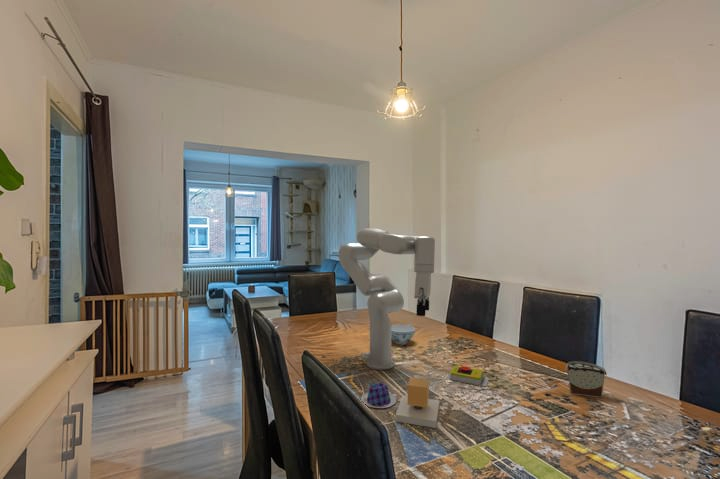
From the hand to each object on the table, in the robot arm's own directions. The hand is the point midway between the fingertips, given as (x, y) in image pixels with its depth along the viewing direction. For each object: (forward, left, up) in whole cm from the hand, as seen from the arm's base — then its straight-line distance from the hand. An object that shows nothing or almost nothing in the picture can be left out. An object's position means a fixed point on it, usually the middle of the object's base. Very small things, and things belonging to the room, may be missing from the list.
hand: (422, 312), depth 126 cm
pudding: (-13, -19, -27) cm, 36 cm away
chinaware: (-17, +46, -27) cm, 56 cm away
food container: (+56, +9, -27) cm, 63 cm away
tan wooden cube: (+1, -24, -23) cm, 33 cm away
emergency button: (+17, +9, -27) cm, 33 cm away
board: (+1, -24, -27) cm, 36 cm away
